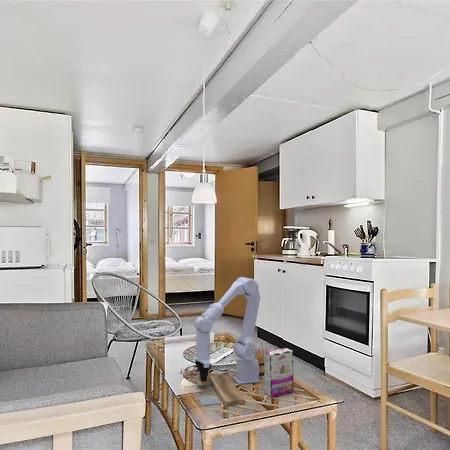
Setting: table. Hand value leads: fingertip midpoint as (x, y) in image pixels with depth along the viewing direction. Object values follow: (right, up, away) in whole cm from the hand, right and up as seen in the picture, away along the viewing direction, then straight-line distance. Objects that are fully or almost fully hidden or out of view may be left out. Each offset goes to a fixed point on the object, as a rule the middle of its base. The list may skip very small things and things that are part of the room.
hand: (202, 379), depth 148 cm
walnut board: (+9, -3, -4) cm, 11 cm away
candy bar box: (+31, -3, -6) cm, 31 cm away
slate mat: (+3, -2, -13) cm, 14 cm away
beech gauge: (0, -2, 0) cm, 2 cm away
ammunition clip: (+26, -4, +13) cm, 29 cm away
